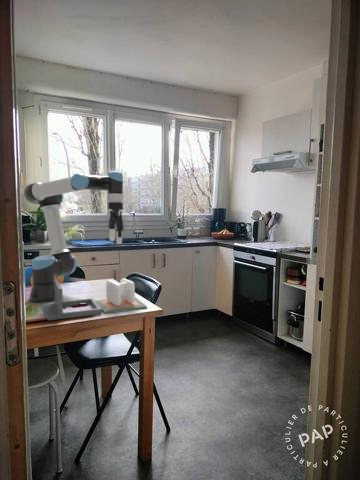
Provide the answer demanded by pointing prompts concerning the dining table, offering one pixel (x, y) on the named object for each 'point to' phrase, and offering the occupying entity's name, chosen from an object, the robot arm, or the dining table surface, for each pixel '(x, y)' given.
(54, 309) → the grey tray holder
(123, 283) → the cable organizer
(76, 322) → the dining table surface
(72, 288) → the dining table surface
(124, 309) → the plate
